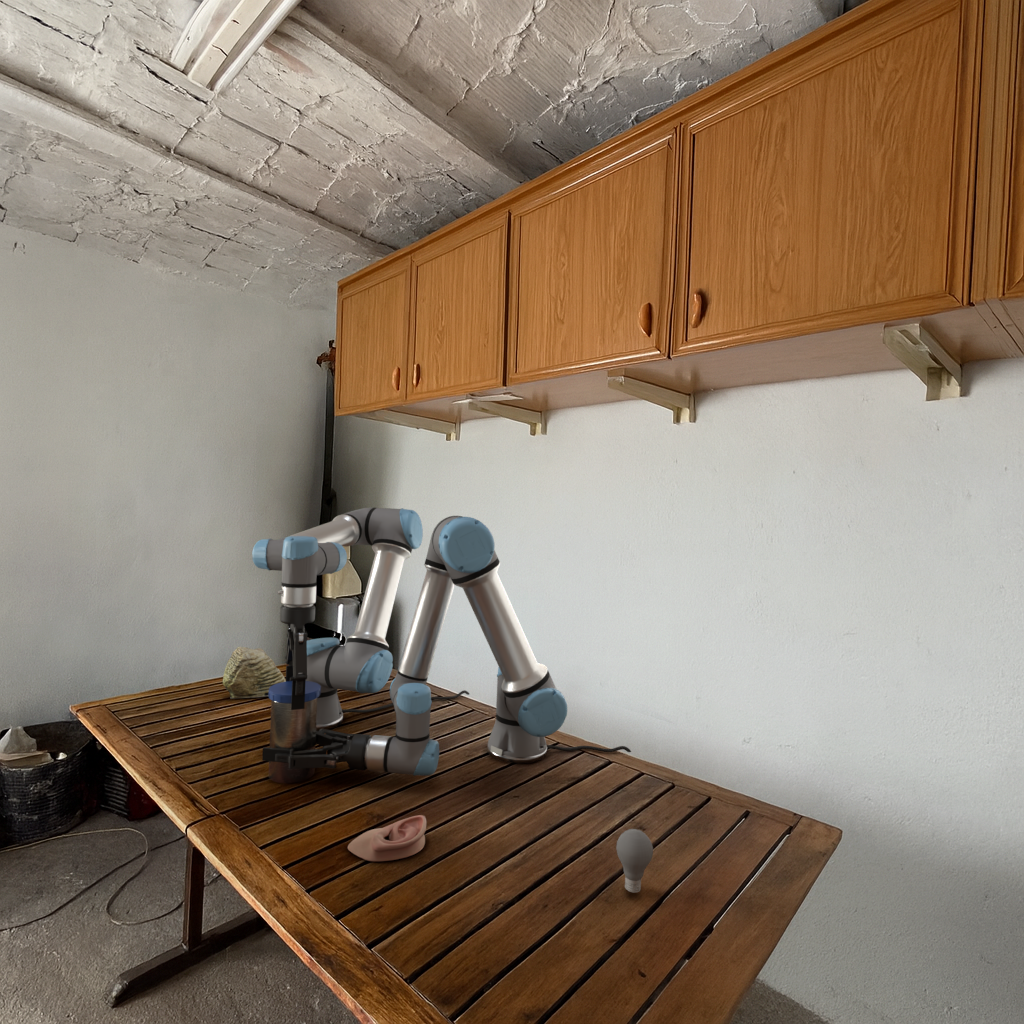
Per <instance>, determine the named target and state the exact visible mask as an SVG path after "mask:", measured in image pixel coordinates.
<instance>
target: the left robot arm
mask: <svg viewBox="0 0 1024 1024" xmlns="http://www.w3.org/2000/svg"><path fill="white" fill-rule="evenodd" d="M423 536H424V533H423V524H422V520H421V517H420V515H419V513H418V512H417V511H416V510H413V509H407V508H404V507H403V508H387V507H372V506H371V507H363V508H358V509H355V510H351V511H347V512H345V513H342V514H338V515H337V516H335V517H334V518H333V519H332V520H331V521H328V522H326V523H322V524H320V525H317V526H313V527H311V528H308V529H306V530H302V531H299V532H296V533H293V534H291V535H288V536H284V537H281V538H278V539H274V538H262V539H259V540H258V541H256V543H255V544H254V546H253V548H252V552H251V555H252V562H253V564H254V566H255V567H257V568H258V569H262V570H268V571H279V572H281V589H280V590H278V591H277V592H278V595H280V603H281V604H282V605H281V606H280V608H279V609H280V611H279V621H280V623H282V624H285V625H287V629H286V648H285V649H286V650H285V656H284V659H285V664H286V665H285V680H286V682H287V681H292V698H291V710H297V709H304V707H305V681H311V682H315V683H318V684H319V685H320V686H321V693H320V696H319V697H318V698H317V719H316V731H319V730H320V729H327V730H332V729H335V728H337V727H339V726H340V725H342V723H343V722H344V713H355V714H356V713H358V714H365V713H372V712H377V711H381V710H384V709H388V708H392V707H394V705H393V702H392V703H389V704H385V705H381V706H377V707H373V708H366V709H357V708H354V709H353V708H352V709H350V708H349V709H347V708H344V709H343V708H342V706H341V702H340V699H339V695H338V690H341V691H350V692H357V693H359V694H376V693H378V692H380V691H381V690H382V689H383V688H384V687H385V685H386V684H387V683H388V681H389V679H390V677H391V675H392V671H393V666H394V663H393V661H394V657H393V654H392V652H390V651H389V648H390V646H389V644H388V642H387V640H386V637H387V633H388V629H389V625H390V621H391V616H392V612H393V608H394V604H395V600H396V595H397V591H398V587H399V582H400V579H401V576H402V575H401V574H402V571H403V567H404V561H406V560H408V559H410V557H411V555H412V551H413V550H417V549H419V548H420V547H421V545H422V543H423ZM355 545H357V546H358V545H359V546H360V545H361V546H371V549H372V550H373V552H374V558H373V561H372V565H371V568H370V573H369V576H368V580H367V584H366V588H365V592H364V594H363V599H362V603H361V607H360V611H359V615H358V617H357V621H356V626H355V628H354V632H353V634H350V635H349V636H347V638H346V641H345V645H340V644H341V641H340V639H339V638H337V637H320V638H319V637H318V638H313V639H308V635H309V634H308V630H307V629H306V628H305V625H306V624H311V623H314V622H315V620H316V606H315V604H316V602H317V576H322V575H332V574H335V573H337V572H340V571H341V570H343V568H344V567H345V566H346V563H347V562H348V554H347V551H346V548H347V547H351V546H355ZM345 547H346V548H345ZM463 694H466V695H467V696H468V695H470V692H469V691H467V690H461V691H460V692H458V693H457V694H455V695H451V696H431V701H438V700H439V701H442V700H443V701H444V700H445V701H447V700H448V701H449V700H454V699H457V698H459V697H461V696H462V695H463Z"/></svg>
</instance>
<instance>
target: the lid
mask: <svg viewBox="0 0 1024 1024" xmlns="http://www.w3.org/2000/svg"><path fill="white" fill-rule="evenodd" d="M320 693H321V686H320V685H319V684H318V683H315V682H311V681H305V702H306V701H310V700H313V699H316V698H318V697H319V696H320ZM267 697H268V699H269V700H270V701H271V700H272V701H275V702H280V703H291V698H292V681H287V682H281V683H277V684H275V685H272V686H271V687H270V688H269V693H268V696H267Z"/></svg>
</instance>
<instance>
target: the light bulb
mask: <svg viewBox="0 0 1024 1024" xmlns="http://www.w3.org/2000/svg"><path fill="white" fill-rule="evenodd" d="M615 849H616V854H617V857H618V859H619V861H620V863H621V865H622V867H623V873H624V874H623V875H624V876H625V878H624V888H625V890H627V891H628V892H630V893H634V894H635V893H639V892H640V891H641V889H642V887H641V886H642V879H643V877H644V875H645V871H646V868H647V867H648V866H649V864H650V863H651V861H652V859H653V855H654V847H653V843H652V841H651V838H649V836H648V835H647V834H646V833H645V832H643V831H642V830H641V829H636V828H629V829H627V830H625V831H623V832H622V833H621V834H620V835H619V837H618V839H617V841H616V847H615Z"/></svg>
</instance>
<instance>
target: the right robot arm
mask: <svg viewBox="0 0 1024 1024" xmlns="http://www.w3.org/2000/svg"><path fill="white" fill-rule="evenodd" d="M423 565H424V568H425V569H426V572H425V575H424V579H423V583H422V586H421V590H420V593H419V596H418V599H417V602H416V607H415V608H414V609H415V610H414V613H413V616H412V619H411V624H410V627H409V630H408V634H407V637H406V639H405V640H406V641H405V644H404V647H403V651H402V655H401V658H400V661H399V664H398V668H397V672H396V674H395V677H394V678H393V680H391V683H390V686H389V698H390V701H391V702H392V703H393V705H394V706H393V709H394V712H395V736H391V735H379V734H378V735H377V734H374V735H371V734H363V733H362V734H361V733H356V734H355V733H345V732H340V731H336V730H332V729H329V730H327V729H320V730H319V731H316V746H317V745H318V746H321V748H315V749H312V750H304V751H295V752H293V748H292V749H281V748H270V746H269V747H267V746H264V747H263V748H262V756H261V757H262V758H261V759H262V760H261V761H262V762H269V761H272V762H283V763H289V768H290V769H299V768H315V769H333V770H334V769H336V768H337V763H347V765H348V768H349V769H350V770H352V771H353V770H354V771H366V770H368V771H370V772H377V773H378V772H379V774H383V773H392V774H400V775H410V776H414V777H415V776H425V777H426V776H432V775H435V772H437V768H438V765H439V759H440V743H439V742H438V740H435V739H432V738H431V736H430V729H431V728H430V726H431V710H432V709H431V708H432V703H433V700H431V697H432V690H431V687H430V686H428V685H427V682H428V678H429V675H430V671H431V668H432V664H433V661H434V658H435V654H436V650H437V647H438V645H439V640H440V638H441V633H442V630H443V627H444V623H445V619H446V617H447V613H448V610H449V607H450V603H451V599H452V597H453V593H454V590H455V586H456V587H459V588H462V590H463V591H464V594H465V596H466V598H467V601H468V603H469V605H470V606H471V609H472V611H473V614H474V617H475V619H476V620H477V623H478V625H479V628H480V629H481V631H482V633H483V635H484V638H485V639H486V642H487V644H488V647H489V649H490V650H491V653H492V655H493V657H494V659H495V662H496V664H497V666H498V668H497V669H498V670H497V674H496V678H497V679H496V680H497V681H496V702H495V703H496V707H495V721H494V725H493V727H492V730H491V733H490V735H489V737H488V741H487V746H486V747H487V750H486V751H487V753H488V755H489V756H490V757H492V758H493V759H495V760H497V761H501V762H504V763H509V764H531V763H536V762H539V761H542V760H543V759H545V758H546V756H547V753H548V750H549V749H550V750H556V751H561V752H573V751H579V750H589V751H597V752H601V753H614V752H618V751H623V750H624V751H626V752H627V753H632V751H631V749H630V748H629V747H628V746H625V745H619V746H616V747H613V748H604V747H597V746H593V745H577V746H571V747H563V746H557V745H551V744H547V740H546V737H549V736H551V735H553V734H555V733H556V732H557V731H558V730H559V729H560V728H562V726H563V725H564V723H565V720H566V718H567V715H568V703H567V700H566V698H565V696H564V694H563V693H562V692H561V691H560V690H559V689H558V688H557V687H556V684H555V682H554V681H553V678H552V676H551V674H550V672H549V670H548V667H547V666H546V665H545V664H543V663H540V662H538V661H537V658H536V656H535V654H534V652H533V651H534V650H532V647H531V645H530V643H529V640H528V638H527V636H526V634H525V632H524V629H523V627H522V625H521V623H520V620H519V618H518V616H517V614H516V612H515V611H516V610H515V609H514V607H513V605H512V602H511V600H510V598H509V596H508V593H507V591H506V589H505V587H504V584H503V583H502V580H501V578H500V576H499V574H498V573H499V572H498V571H499V569H500V566H501V561H500V559H499V557H498V555H497V553H496V550H495V539H494V536H493V534H492V532H491V531H490V529H489V528H488V527H487V526H486V525H485V524H484V522H482V521H481V520H479V519H476V518H474V517H471V516H461V515H450V516H447V517H444V518H442V519H441V520H440V521H439V522H438V523H437V524H436V525H435V527H434V528H433V531H432V532H431V536H430V540H429V545H428V549H427V553H426V557H425V560H424V564H423Z"/></svg>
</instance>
